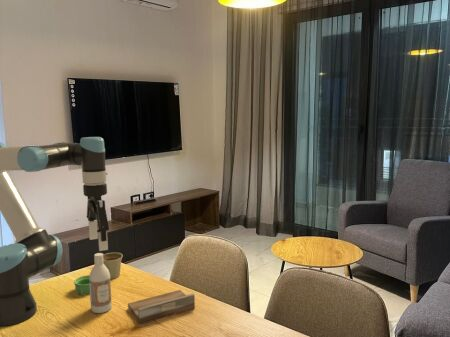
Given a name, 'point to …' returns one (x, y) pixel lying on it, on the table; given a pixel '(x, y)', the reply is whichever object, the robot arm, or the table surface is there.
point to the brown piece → (161, 306)
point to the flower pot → (113, 263)
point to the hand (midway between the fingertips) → (98, 244)
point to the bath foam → (100, 286)
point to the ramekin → (82, 285)
